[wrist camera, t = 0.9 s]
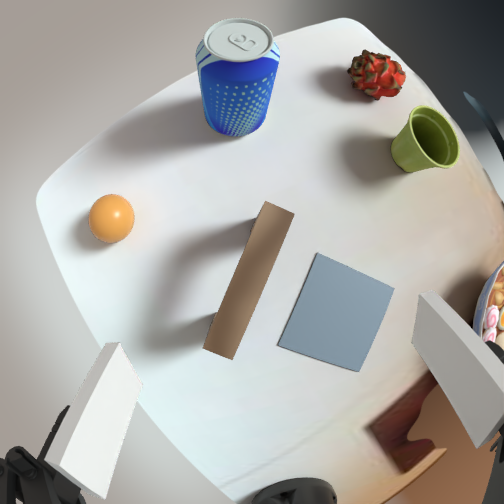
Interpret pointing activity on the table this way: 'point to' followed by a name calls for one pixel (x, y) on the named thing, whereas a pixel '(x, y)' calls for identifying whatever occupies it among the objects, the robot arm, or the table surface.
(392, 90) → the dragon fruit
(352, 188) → the table surface
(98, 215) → the ball
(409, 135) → the plant pot
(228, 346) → the bridge
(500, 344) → the ramen bowl
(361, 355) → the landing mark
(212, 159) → the table surface
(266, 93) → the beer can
